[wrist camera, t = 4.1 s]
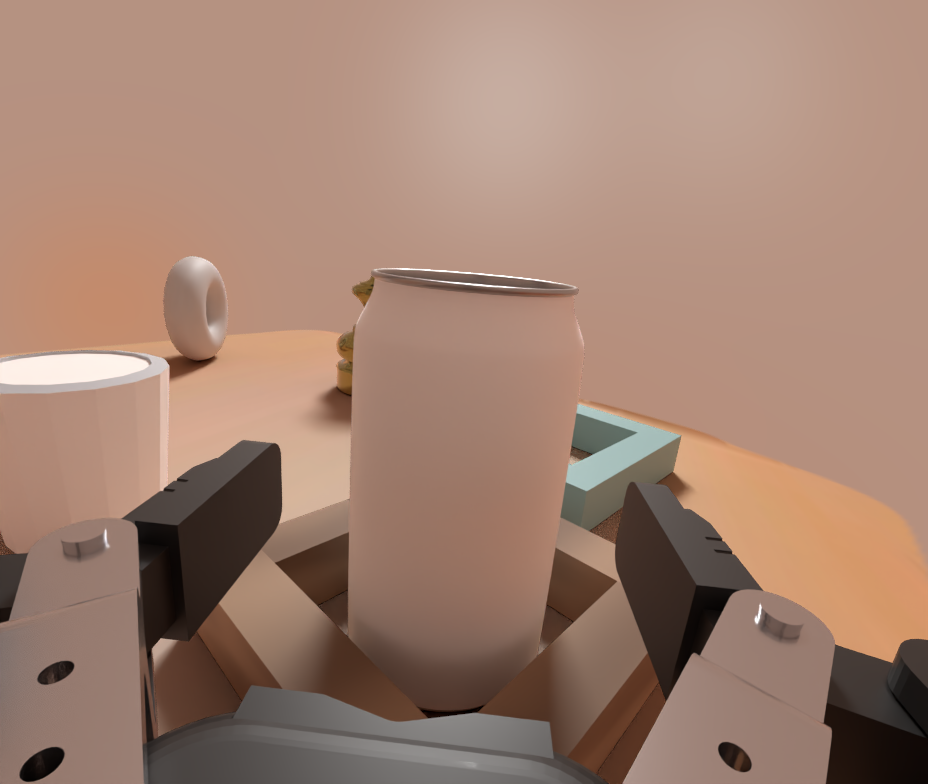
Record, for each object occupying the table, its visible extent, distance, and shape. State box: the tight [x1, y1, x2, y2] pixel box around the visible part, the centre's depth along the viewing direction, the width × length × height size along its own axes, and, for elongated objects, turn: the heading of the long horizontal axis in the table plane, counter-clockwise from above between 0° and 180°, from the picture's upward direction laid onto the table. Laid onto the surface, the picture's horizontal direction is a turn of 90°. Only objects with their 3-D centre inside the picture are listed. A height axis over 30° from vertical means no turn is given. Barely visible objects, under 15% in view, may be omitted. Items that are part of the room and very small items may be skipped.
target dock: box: [560, 404, 681, 531], centre depth 31 cm, size 12×12×2 cm
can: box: [348, 268, 585, 712], centre depth 15 cm, size 6×6×12 cm
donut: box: [163, 256, 228, 360], centre depth 47 cm, size 10×4×10 cm, turn 9°
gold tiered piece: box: [336, 276, 375, 395], centre depth 43 cm, size 7×7×10 cm
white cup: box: [0, 350, 170, 554], centre depth 20 cm, size 7×7×7 cm
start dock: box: [197, 499, 659, 774], centre depth 16 cm, size 12×12×2 cm
